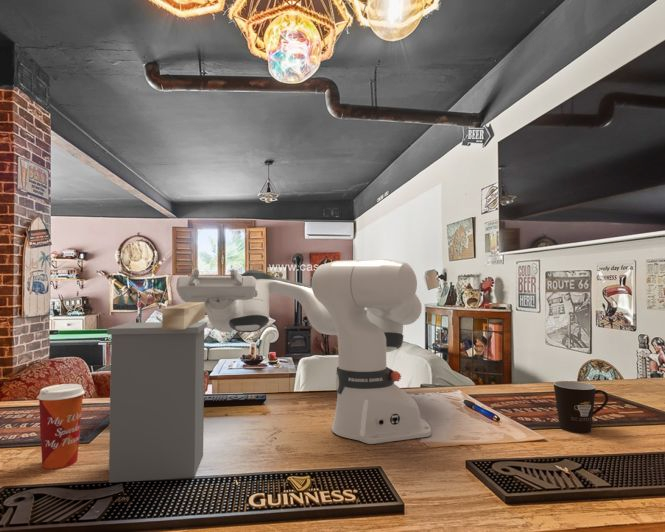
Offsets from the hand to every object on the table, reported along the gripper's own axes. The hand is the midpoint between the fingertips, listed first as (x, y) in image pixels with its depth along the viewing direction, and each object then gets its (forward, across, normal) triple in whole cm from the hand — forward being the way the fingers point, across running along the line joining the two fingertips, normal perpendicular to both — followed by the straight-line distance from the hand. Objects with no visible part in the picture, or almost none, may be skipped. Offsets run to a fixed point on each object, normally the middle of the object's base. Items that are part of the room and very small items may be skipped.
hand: (214, 272), depth 110 cm
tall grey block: (+6, +6, -46) cm, 46 cm away
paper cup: (+2, +25, -43) cm, 50 cm away
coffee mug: (-1, -85, -42) cm, 95 cm away
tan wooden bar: (+17, +2, -22) cm, 27 cm away
